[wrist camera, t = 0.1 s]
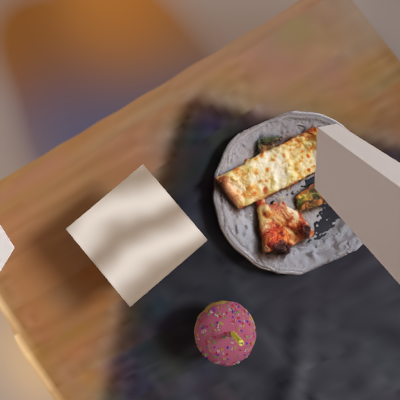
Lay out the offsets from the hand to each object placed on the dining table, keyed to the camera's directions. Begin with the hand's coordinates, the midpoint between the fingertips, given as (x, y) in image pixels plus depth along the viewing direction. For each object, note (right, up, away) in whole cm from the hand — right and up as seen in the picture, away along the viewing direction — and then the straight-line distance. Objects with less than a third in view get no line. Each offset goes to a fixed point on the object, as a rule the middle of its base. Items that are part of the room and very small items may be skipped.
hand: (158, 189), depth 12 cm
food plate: (+16, +1, +36) cm, 40 cm away
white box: (-7, -5, +36) cm, 36 cm away
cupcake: (+5, -19, +35) cm, 40 cm away
